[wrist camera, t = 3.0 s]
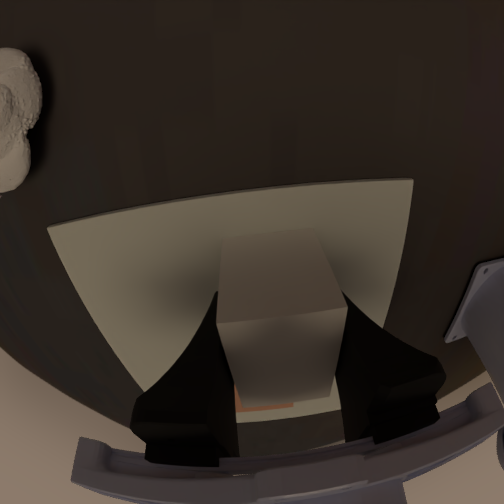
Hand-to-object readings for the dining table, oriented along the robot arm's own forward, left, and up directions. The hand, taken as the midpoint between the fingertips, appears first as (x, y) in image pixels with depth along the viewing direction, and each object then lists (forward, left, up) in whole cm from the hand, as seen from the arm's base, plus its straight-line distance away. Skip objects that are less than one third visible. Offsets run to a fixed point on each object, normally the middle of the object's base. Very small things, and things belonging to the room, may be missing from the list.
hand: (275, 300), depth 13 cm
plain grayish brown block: (0, 0, -1) cm, 1 cm away
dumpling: (+11, -11, -2) cm, 16 cm away
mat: (+2, +6, -1) cm, 6 cm away
